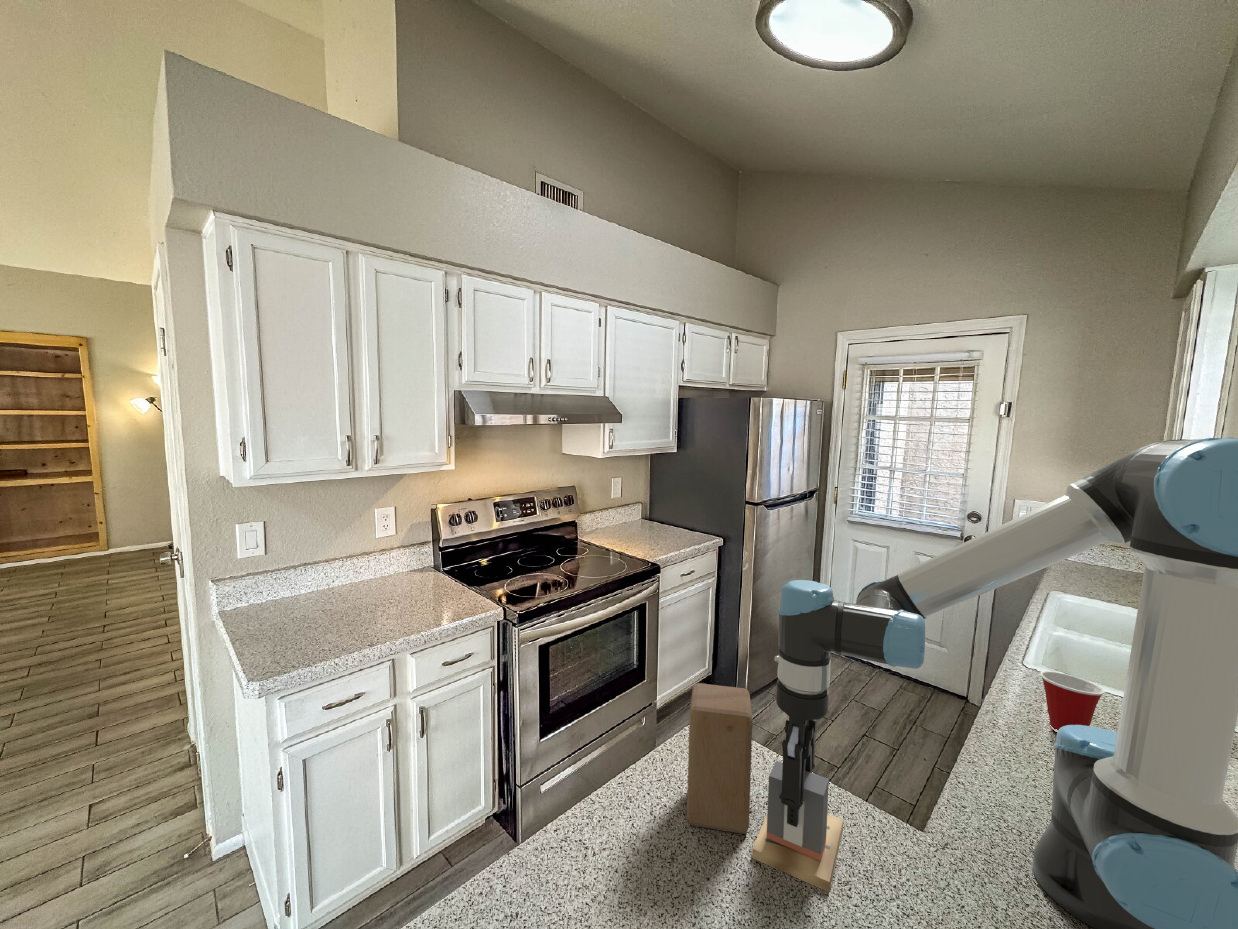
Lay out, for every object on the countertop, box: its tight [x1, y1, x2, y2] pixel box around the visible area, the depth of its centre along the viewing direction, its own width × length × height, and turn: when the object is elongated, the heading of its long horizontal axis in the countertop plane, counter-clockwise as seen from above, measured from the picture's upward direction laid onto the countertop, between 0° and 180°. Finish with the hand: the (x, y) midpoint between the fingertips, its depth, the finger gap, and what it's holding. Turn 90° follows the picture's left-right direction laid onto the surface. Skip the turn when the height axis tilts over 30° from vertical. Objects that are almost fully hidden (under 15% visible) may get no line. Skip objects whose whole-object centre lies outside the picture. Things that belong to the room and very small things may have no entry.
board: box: [751, 813, 844, 893], centre depth 81 cm, size 11×14×2 cm
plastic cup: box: [1040, 671, 1106, 730], centre depth 113 cm, size 11×11×12 cm
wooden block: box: [686, 682, 753, 835], centre depth 87 cm, size 10×10×20 cm
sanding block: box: [766, 760, 830, 861], centre depth 79 cm, size 8×4×10 cm, turn 59°
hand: (796, 830), depth 79 cm, fingers closed on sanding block, 4 cm apart
